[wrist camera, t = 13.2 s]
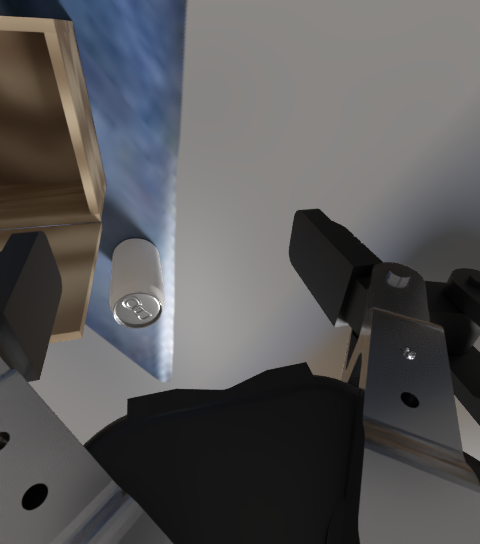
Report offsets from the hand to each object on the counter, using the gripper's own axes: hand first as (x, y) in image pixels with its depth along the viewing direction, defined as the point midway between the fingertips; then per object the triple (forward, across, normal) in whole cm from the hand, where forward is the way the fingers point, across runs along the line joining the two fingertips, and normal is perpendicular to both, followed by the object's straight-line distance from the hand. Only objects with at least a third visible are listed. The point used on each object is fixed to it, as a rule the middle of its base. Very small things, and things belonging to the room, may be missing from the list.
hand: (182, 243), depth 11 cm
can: (+32, +4, +21) cm, 39 cm away
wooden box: (+32, +13, +2) cm, 35 cm away
